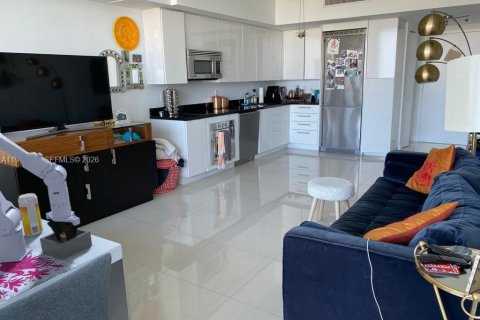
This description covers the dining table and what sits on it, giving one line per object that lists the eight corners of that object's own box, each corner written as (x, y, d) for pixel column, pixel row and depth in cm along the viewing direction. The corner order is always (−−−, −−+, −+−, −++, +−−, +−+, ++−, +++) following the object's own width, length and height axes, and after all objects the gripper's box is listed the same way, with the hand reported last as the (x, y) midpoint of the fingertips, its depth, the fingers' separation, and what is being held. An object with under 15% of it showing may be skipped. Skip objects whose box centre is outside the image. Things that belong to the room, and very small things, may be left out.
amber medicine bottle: (39, 228, 141) (32, 191, 138) (46, 232, 138) (39, 194, 134) (22, 234, 137) (14, 196, 133) (28, 238, 133) (21, 199, 130)
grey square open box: (42, 252, 122) (39, 238, 121) (71, 238, 131) (69, 226, 130) (63, 259, 117) (61, 244, 115) (92, 244, 126) (90, 231, 125)
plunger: (48, 249, 122) (46, 235, 121) (69, 239, 129) (67, 226, 128) (64, 254, 118) (62, 240, 117) (85, 243, 125) (83, 230, 124)
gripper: (85, 201, 120) (91, 240, 123) (57, 196, 127) (63, 232, 130) (66, 209, 114) (72, 249, 117) (37, 203, 121) (44, 240, 124)
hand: (66, 241), depth 123 cm, fingers open, 5 cm apart
